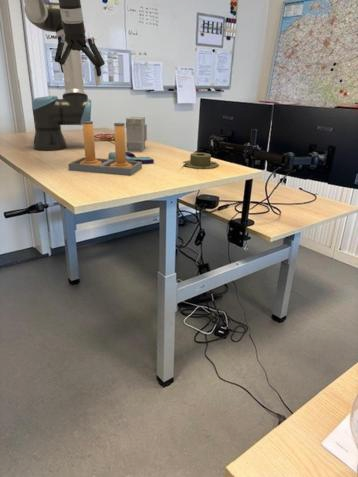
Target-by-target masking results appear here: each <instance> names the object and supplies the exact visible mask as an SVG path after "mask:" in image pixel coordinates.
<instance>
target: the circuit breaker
mask: <svg viewBox="0 0 358 477" xmlns="http://www.w3.org/2000/svg"><path fill="white" fill-rule="evenodd" d="M147 127H148V126H147V124H146V117H143V116H142V117H141V116H128V117H126V118H125V128H126V129H125V135H126V140H125V148H126V152H130V153H133V152H135V153H136V152H138V153H142V152H143V151H145V150H146V142H147V139H148V138H147V135H148V133H147Z"/></svg>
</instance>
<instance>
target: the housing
mask: <svg viewBox="0 0 358 477" xmlns="http://www.w3.org/2000/svg"><path fill="white" fill-rule="evenodd" d="M95 159H97V160H98V161H101V162H102V163H101V164H99V165H86V164H80V162H81V161H84V160H85V156H83V157H80V158H79V159H76V160H74V161H72V162H69V163H67V166H68V171H76V172H87V173H95V174H96V173H97V174H109V175H118V176H133V175H135V173H137V172H138V171H140V170H142V169H143V164H142V162H137V161H126V162H128V163H130V164H132V167H130V168H121V167H110V164H112V163H114V162H116V160H112V159H108V158H100V157H99V158H97V157H95Z"/></svg>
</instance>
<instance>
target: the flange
mask: <svg viewBox="0 0 358 477" xmlns="http://www.w3.org/2000/svg"><path fill="white" fill-rule="evenodd" d="M189 158H190V159H189V160H186V161H183V162H182V164H183V165H182V166H183V167H185V168H188V169H193V170H212V169H217V168H219V163H217V162H215V161H212V154H210V153H206V152H191V153H190V156H189Z"/></svg>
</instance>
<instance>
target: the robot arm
mask: <svg viewBox="0 0 358 477" xmlns="http://www.w3.org/2000/svg"><path fill="white" fill-rule="evenodd" d="M81 2H82V1H81V0H58V2H53V1H52V2H49V1H44V0H23V3H24V8H23V10H24V13H25V16H26V19H28V21H29V22H30V23H31V24H32V25H34V26H35V27H37V28H38V29H40V30H42V31H45V32H50V33H51V32H53V33H55V36H56V37H57V45H56V51H55V54H54V55H55V56H54V62H55V63H58V64H59V66H60V71H61V73H62V74H63V80H64V81H63V82H64V93H62V96H61V97H62V98H59V97H58V95H48V96H47V95H46V96H41V97H35V98H33V99H32V101H31V107H32V109H31V111H32V115H33V121H34V130H35V133H34V139H33V143H32V145H33V149H34V150H36V151H37V150H38V151H58V150H64V149H66V148H67V147H68V146H67V141H66V139H65V137H64V136H65V135H64V134H63V132H62V126H83V122H82V121H91V119H92V118H91V117H92V100H91V99H90V98H89V97H88V94H87V93H86V92H85V88H84V79H83V78H84V77H83V69H82V68H83V67H82V56H81V55H82V54H81V52H82V53H84V55H85V56H86V57H87V59H88V60H89V61H90V62H91V64H92V65H93V66H94V67H93V74H94V81H95V86H97V87H99V86H100V85H101V84H102V83H101V76H102V68H101V67H102V66H104V65H105V64H106V62H105V61H104V59H103V56H102V54H101V53H100V51H99V49H98V48H97V45H96V43H95V39H94V37H93V36H91V37H86V29H85V21H84V15H83V10H82V4H81Z"/></svg>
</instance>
